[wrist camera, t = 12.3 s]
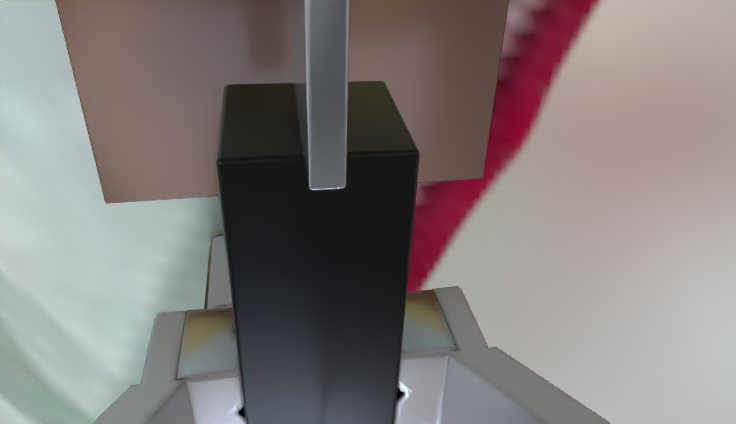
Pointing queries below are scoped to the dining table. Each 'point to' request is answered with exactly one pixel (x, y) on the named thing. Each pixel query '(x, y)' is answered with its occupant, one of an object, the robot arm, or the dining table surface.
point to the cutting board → (268, 80)
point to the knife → (317, 232)
